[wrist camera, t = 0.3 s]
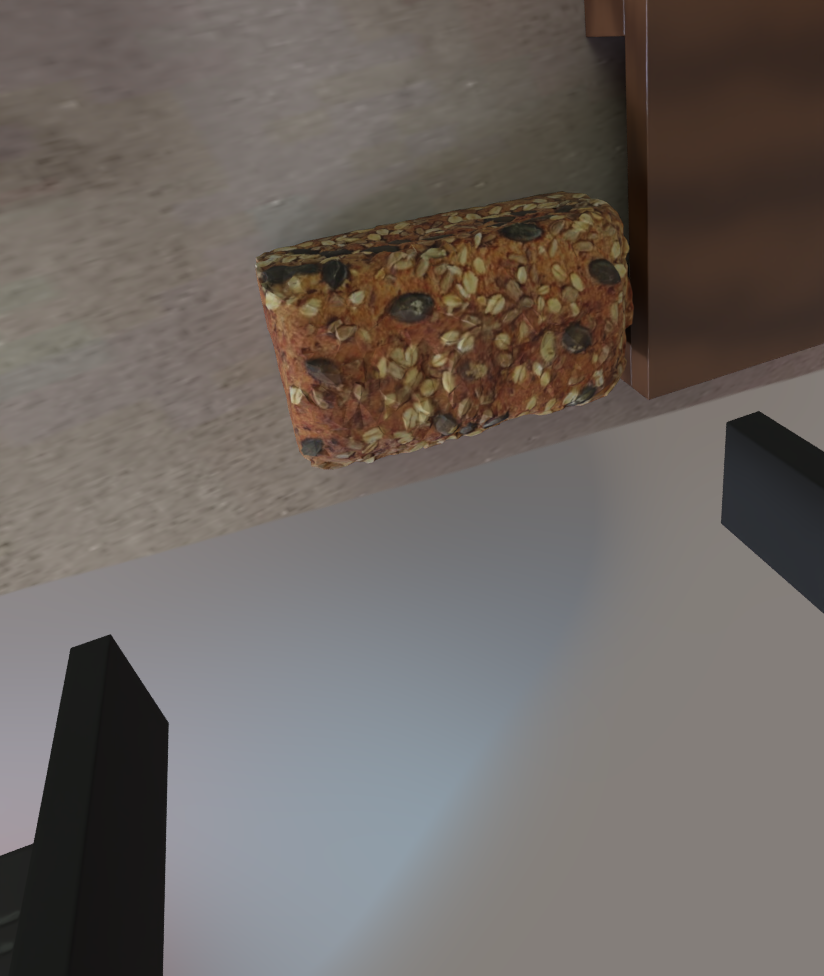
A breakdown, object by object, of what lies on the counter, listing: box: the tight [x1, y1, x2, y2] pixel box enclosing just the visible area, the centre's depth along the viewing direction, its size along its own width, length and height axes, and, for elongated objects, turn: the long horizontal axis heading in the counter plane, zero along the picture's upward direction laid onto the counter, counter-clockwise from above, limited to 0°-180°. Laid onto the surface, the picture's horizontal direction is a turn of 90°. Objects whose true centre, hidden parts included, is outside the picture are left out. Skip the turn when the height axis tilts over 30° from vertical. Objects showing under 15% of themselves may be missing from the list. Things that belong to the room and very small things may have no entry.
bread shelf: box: [584, 0, 824, 400], centre depth 40 cm, size 22×13×6 cm, turn 12°
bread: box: [255, 191, 634, 469], centre depth 38 cm, size 19×11×10 cm, turn 97°
